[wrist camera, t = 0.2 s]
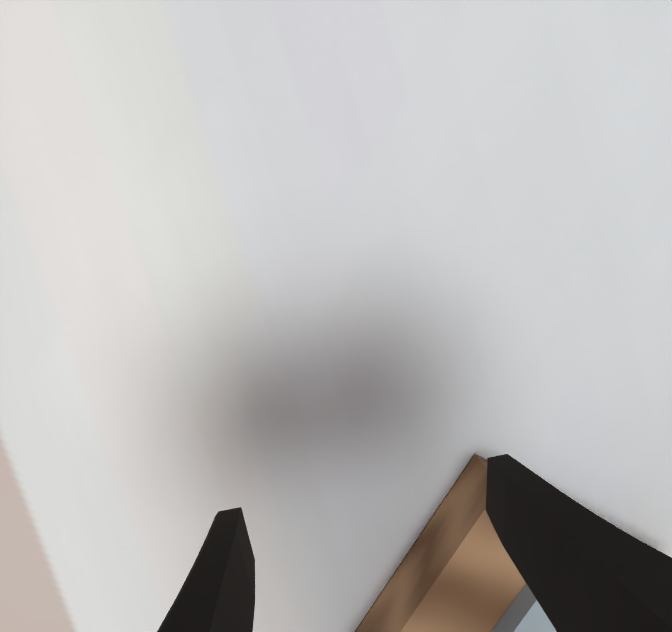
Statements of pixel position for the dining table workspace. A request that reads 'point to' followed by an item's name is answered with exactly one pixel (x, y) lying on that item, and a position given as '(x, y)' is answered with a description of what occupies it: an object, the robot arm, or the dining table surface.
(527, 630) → the cover plate
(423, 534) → the walnut case
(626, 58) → the dining table surface
